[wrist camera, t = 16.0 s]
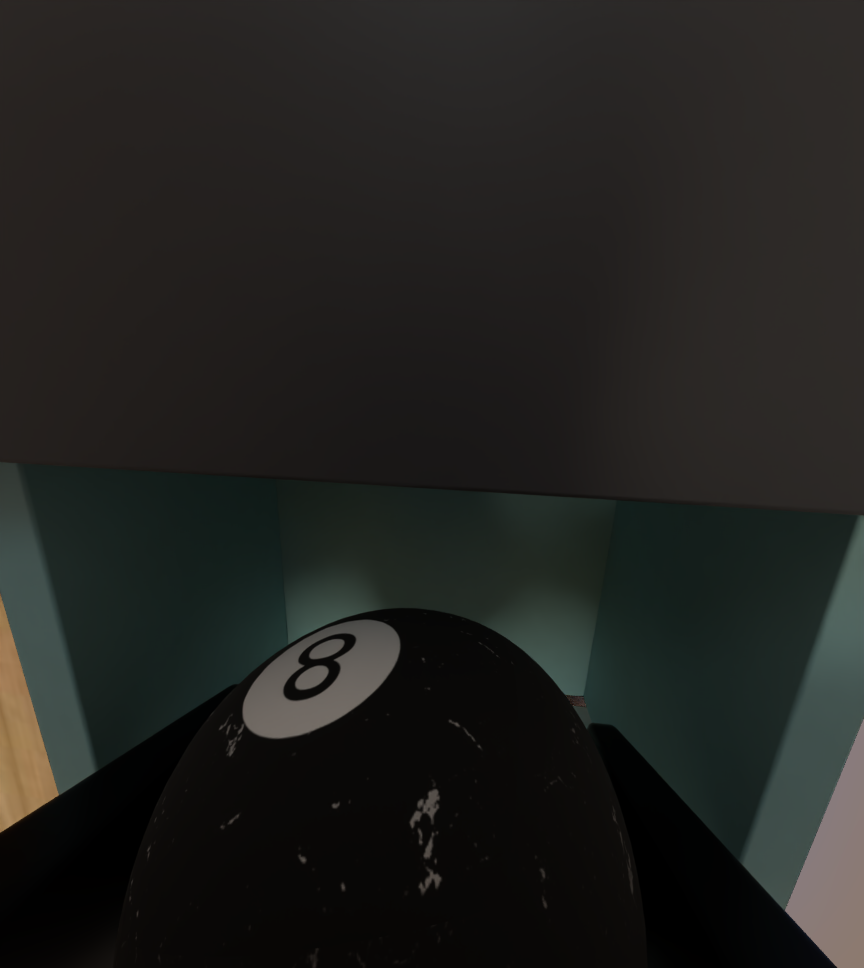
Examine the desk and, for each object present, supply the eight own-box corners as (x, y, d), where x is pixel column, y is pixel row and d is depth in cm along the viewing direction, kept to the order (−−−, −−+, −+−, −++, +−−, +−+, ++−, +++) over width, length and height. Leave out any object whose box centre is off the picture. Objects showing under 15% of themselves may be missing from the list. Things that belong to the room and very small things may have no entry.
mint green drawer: (589, 833, 16) (695, 1256, 8) (276, 793, 17) (119, 1139, 9) (737, 87, 9) (1857, -1095, 2) (212, 96, 10) (-491, -633, 3)
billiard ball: (339, 807, 10) (142, 1451, 4) (238, 585, 8) (-297, 1080, 3) (599, 773, 9) (846, 1568, 3) (534, 514, 7) (761, 1062, 2)
